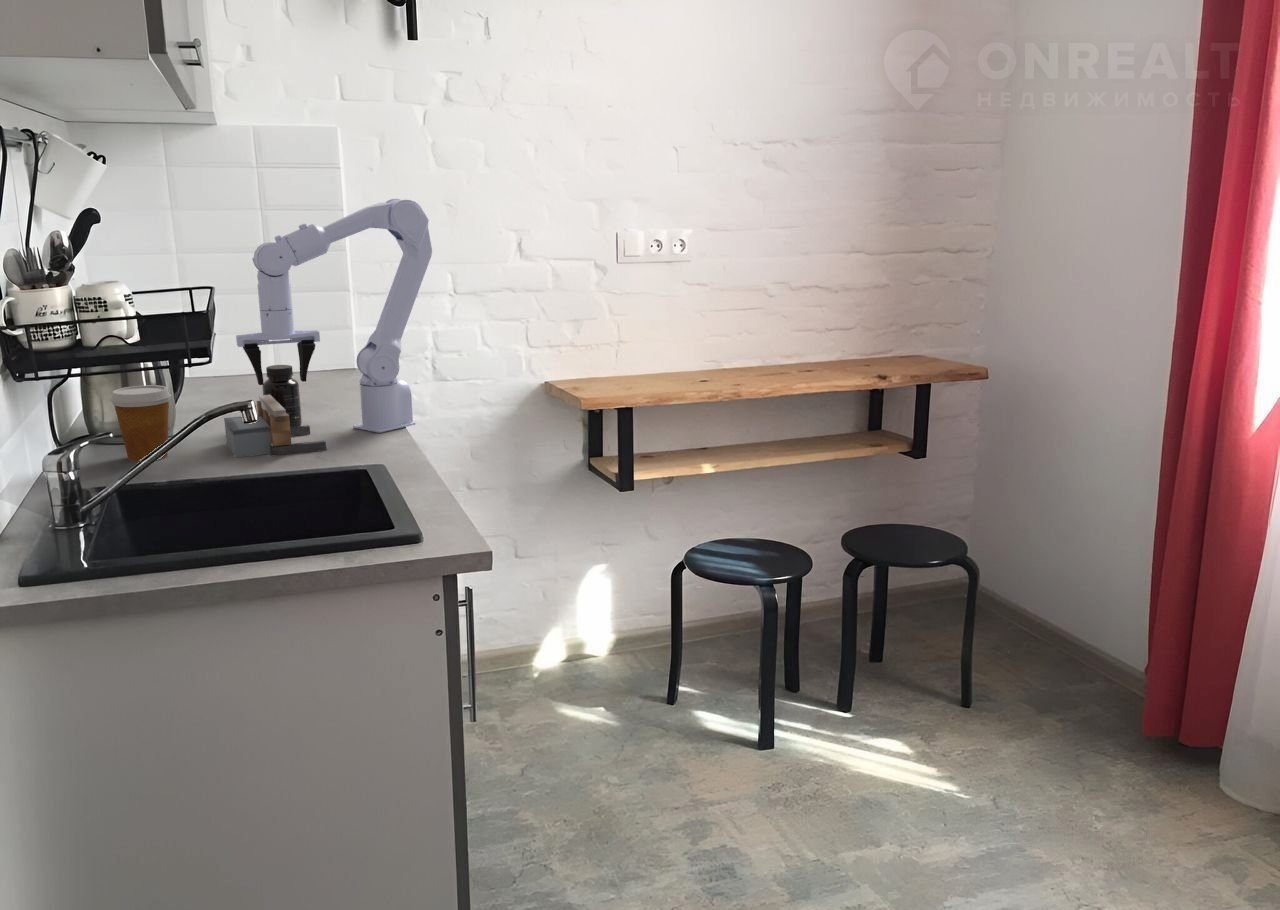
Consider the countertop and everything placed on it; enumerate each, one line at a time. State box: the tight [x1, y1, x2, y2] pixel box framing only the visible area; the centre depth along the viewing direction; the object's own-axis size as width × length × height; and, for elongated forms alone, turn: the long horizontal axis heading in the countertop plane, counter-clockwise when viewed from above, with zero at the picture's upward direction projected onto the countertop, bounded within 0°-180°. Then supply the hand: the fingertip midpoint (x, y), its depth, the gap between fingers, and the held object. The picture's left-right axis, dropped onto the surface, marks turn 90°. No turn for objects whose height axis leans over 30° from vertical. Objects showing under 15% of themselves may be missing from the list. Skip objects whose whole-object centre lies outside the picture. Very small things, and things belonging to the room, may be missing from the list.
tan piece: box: [256, 394, 292, 446], centre depth 195 cm, size 3×16×7 cm, turn 28°
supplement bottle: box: [261, 364, 303, 427], centre depth 209 cm, size 7×7×12 cm
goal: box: [223, 414, 273, 458], centre depth 193 cm, size 6×11×5 cm, turn 28°
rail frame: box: [269, 424, 327, 457], centre depth 197 cm, size 10×15×2 cm, turn 28°
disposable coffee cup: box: [110, 384, 172, 463], centre depth 186 cm, size 10×10×12 cm
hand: (282, 382), depth 200 cm, fingers open, 7 cm apart
